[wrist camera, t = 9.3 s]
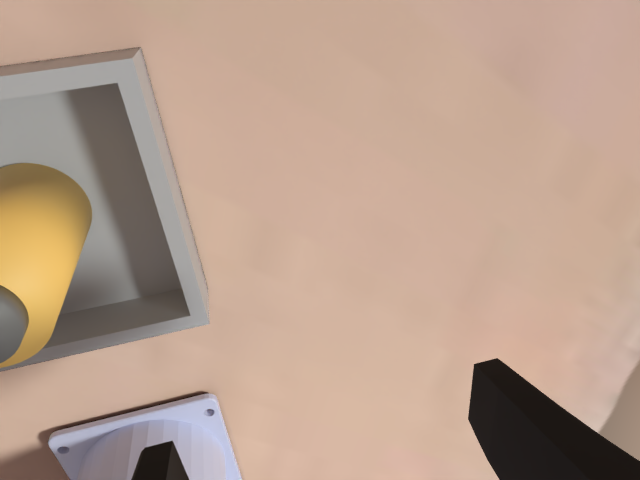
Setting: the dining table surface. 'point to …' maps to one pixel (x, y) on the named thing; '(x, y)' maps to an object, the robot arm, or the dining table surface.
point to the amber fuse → (36, 253)
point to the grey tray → (108, 197)
